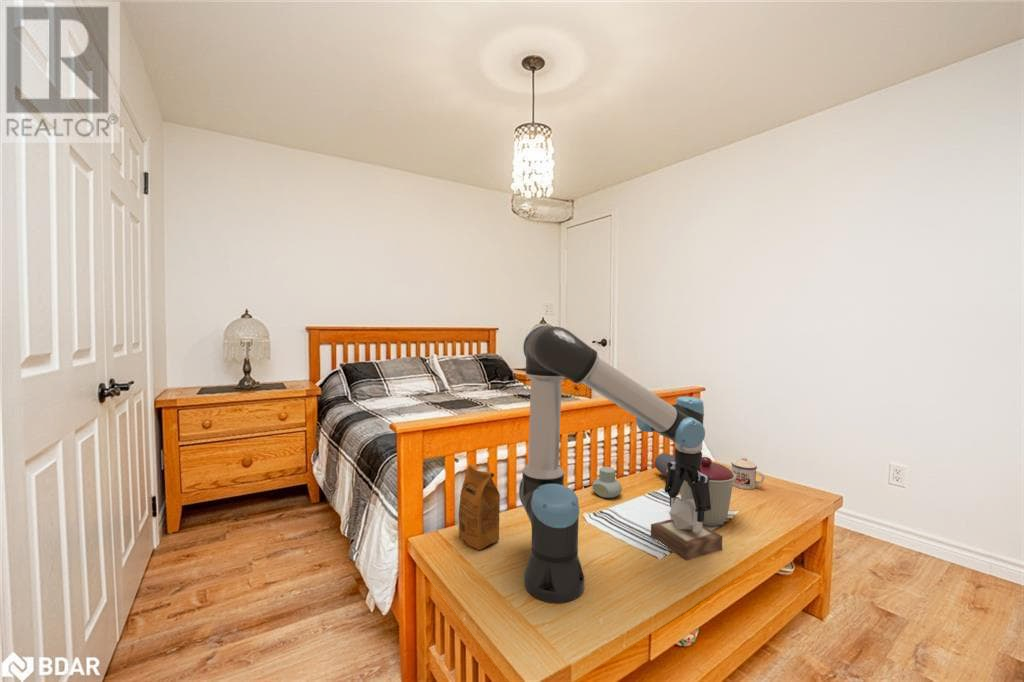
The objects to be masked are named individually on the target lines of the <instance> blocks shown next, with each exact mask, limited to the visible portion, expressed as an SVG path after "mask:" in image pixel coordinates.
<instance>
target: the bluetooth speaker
mask: <svg viewBox="0 0 1024 682" xmlns="http://www.w3.org/2000/svg"><path fill="white" fill-rule="evenodd" d="M674 458H675V455H672V454H669V453H666V452H662V453H659V454H658V455H657V456H656V458H655V461H654V466H655V468H656V470H657V471H658V472H659V473H660V474H662V475H663V476H664V477H666V478H667V473H668V465H667V464H668V463H669V462H676V461H675V459H674ZM676 474H677V472H676Z"/></svg>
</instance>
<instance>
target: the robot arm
mask: <svg viewBox="0 0 1024 682" xmlns="http://www.w3.org/2000/svg"><path fill="white" fill-rule="evenodd" d="M522 350H523V353H524V356H525V375H526V376H527V378H528V379H529V380H530V399H529V401H530V402H529V427H528V429H529V430H528V432H529V435H528V456H527V457H528V463H527V464H526V465H525V466H524V467H523V468H522V477H521V480H520V483H519V487H518V493H519V500H520V502H521V505H522V506H523V508H524V511H525V513H526V515H527V518H528V520H529V522H530V524H531V525H530V526H531V552H530V555H529V557H528V561H527V564H526V567H525V570H524V574H523V583H524V588H525V589H526V590H527V592H528V593H529V594H530V595H532V597H534V598H536V599H539V600H540V601H544V602H546V603H547V602H548V603H554V604H555V603H558V604H559V603H567V602H571V601H573V600H576V599H577V598H579V597H580V596H581V595H582V594H583V592H584V590H585V574H584V572H583V567H582V564H581V561H580V557H579V554H578V553H579V521H580V520H579V517H580V516H579V515H580V505H579V498H578V495H577V494H576V493H575V491H574V490H572V489H571V488H569V487H566V486H565V485H564V484H565V483H564V479H565V471H564V469H563V468H562V467H561V466H560V444H561V442H560V441H561V440H560V438H561V435H560V434H561V411H562V386H563V385H562V384H563V383H562V382H563V380H564V379H567V380H570V381H571V382H573V383H574V384H576V385H577V384H583V385H585V386H587V387H588V388H590V389H591V390H593V391H594V392H595V393H598V394H599V395H600V396H602V397H604V398H605V399H606V400H608V401H610V402H612V403H614V405H617V406H618V407H619V408H620V409H623V410H624V411H626V412H627V413H629V414H631V415H632V416H634V417H635V421H636V425H637V428H638V429H639V430H640V431H641V432H647V433H652V432H655V433H657V434H659V435H661V436H663V437H665V438H668V439H669V440H670V441H672V442H674V447H675V449H674V457H675V458H674V459H675V461H676V462H669V463H668V464H667V465H668V473H667V477H666V480H665V486H664V493H667V494H668V497H669V507H670V509H671V508H672V506H673V504H674V502H675V499H681V496H680V497H679V494H680V488H681V486H682V484H683V482H684V480H685V481H687V482H688V485H689V486H690V488H691V491H692V495H693V499H694V502H695V506H696V509H694V520H693V523H694V524H693V532H695V533H696V532H700V531H702V522H703V521H704V512H705V511H709V510H711V502H710V493H709V479H710V477H709V475H704V474H702V473H701V470H700V465H701V464H702V457H703V453H702V450H703V443H704V440H705V437H706V430H705V427H704V416H705V413H704V411H705V410H704V409H705V408H704V401H703V400H702V399H700V398H698V397H694V396H678V397H677V398H676V399H675V404H670V403H668V402H667V401H666V400H664V399H663V398H661V397H660V396H658V395H656V394H655V393H653V392H652V391H651V390H649V389H647V388H646V387H644V386H642V385H641V384H639V383H638V382H636V381H635V380H633V378H631V377H629V376H627V375H626V374H624V373H623V372H621V371H620V370H618V369H617V368H615V367H614V366H612V365H610V364H609V363H608V362H607V361H604V360H603V359H601V358H600V357H599V353H598V350H595V349H594V348H592V347H591V346H590V345H588V344H587V343H586V342H584V341H583V340H581V339H580V338H579V337H577V335H575V334H574V333H572V332H571V331H570V330H568V329H566V328H564V327H560V326H554V325H547V324H546V325H540V326H538V327H535V328H533V329H532V330H531V331H529V333H528V334H527V335H526V337H525V339H524V340H523V349H522ZM676 472H677V474H676ZM692 482H695V483H692ZM700 505H701V506H700ZM669 518H670V519H672V517H671V516H670V517H669ZM670 519H669V520H670ZM672 520H673V519H672Z"/></svg>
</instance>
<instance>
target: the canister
mask: <svg viewBox="0 0 1024 682" xmlns="http://www.w3.org/2000/svg"><path fill="white" fill-rule="evenodd" d="M700 470H701V473H702V474H704V475H709V477H710V479H709V493H710V502H711V510H709V511H705V512H704V521H703V522H702V525H703V526H705V527H706V526H708V527H715V526H721V525H722V524H723V523H725V522H726V520H727V518H728V513H729V509H730V504H731V503H730V502H731V497H732V491H733V487H734V486H733V480H734V479H735V478H736V474H735V473H734V472H733V471H732V469H730V468H729V467H727V466H724V465H723V464H721V463H716V462H713V461H712V459H711V458H710V457H708V456H702V464H701V465H700ZM692 483H695V482H692ZM679 495H680V499H693V495H692V491H691V488H690V486H689V485H688V482H687V481H685V480H684V482H683V484H682V486H681V488H680V491H679ZM700 506H701V505H700Z"/></svg>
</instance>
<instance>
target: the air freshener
mask: <svg viewBox="0 0 1024 682" xmlns="http://www.w3.org/2000/svg"><path fill="white" fill-rule="evenodd" d="M598 472H599V475H598V478H597V479H595V480H594V481H593V483H592V484H591V485H592V487H591V488H592V490H593V492H594V493H595V494H597V495H598V496H599V497H601V498H603V499H604V498H605V499H612V498H616V497H618V496H619V495H621V493H622V491H623V487H622V484H621V482H619V481H618V480H617V479H616V469H615V468H613V467H610V466H601V467H600V468H599V471H598Z"/></svg>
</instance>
